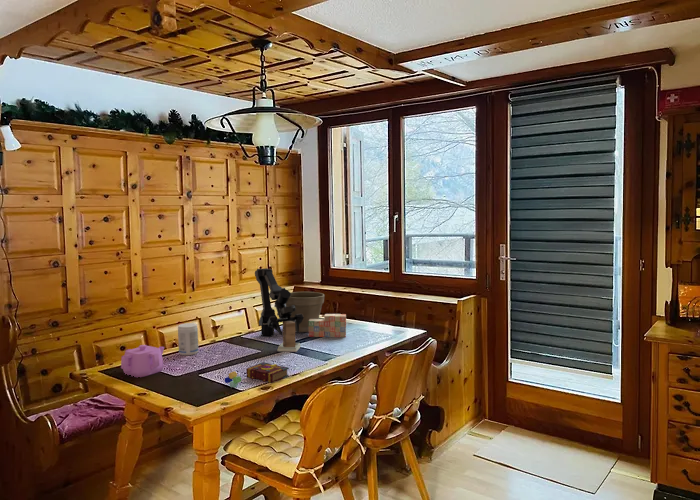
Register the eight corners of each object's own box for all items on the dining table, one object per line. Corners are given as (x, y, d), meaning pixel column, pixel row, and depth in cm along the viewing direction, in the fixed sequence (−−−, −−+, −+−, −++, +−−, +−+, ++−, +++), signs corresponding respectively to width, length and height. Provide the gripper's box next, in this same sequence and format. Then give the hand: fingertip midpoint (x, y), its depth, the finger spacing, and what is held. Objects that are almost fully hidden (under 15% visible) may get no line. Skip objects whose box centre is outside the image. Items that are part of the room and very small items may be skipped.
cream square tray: (277, 351, 279) (277, 347, 278) (282, 346, 289) (282, 342, 288) (296, 351, 278) (296, 347, 277) (300, 346, 287) (300, 343, 287)
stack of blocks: (308, 336, 309) (308, 315, 308) (309, 334, 316) (309, 313, 315) (345, 337, 308) (345, 316, 307) (346, 334, 314) (346, 313, 313)
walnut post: (282, 346, 284) (282, 321, 283) (291, 344, 286) (291, 320, 285) (286, 348, 280) (286, 323, 278) (295, 347, 282) (295, 322, 281)
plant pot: (307, 323, 344) (307, 289, 342) (332, 329, 326) (332, 294, 324) (275, 329, 327) (274, 294, 326) (299, 336, 309) (299, 299, 307)
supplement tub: (197, 350, 281) (197, 322, 280) (199, 354, 272) (198, 326, 271) (178, 351, 278) (177, 323, 276) (179, 356, 269) (178, 327, 267)
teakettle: (120, 379, 234) (119, 351, 233) (126, 368, 251) (125, 341, 250) (161, 376, 238) (160, 349, 237) (165, 365, 255) (164, 339, 254)
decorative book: (271, 384, 228) (271, 372, 228) (243, 377, 237) (243, 366, 236) (289, 377, 238) (288, 366, 237) (261, 371, 246) (261, 360, 246)
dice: (224, 385, 226) (223, 370, 225) (228, 383, 228) (228, 368, 228) (237, 389, 221) (237, 373, 221) (242, 387, 224) (242, 372, 223)
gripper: (269, 301, 280) (276, 326, 271) (302, 298, 289) (310, 323, 280) (264, 314, 288) (271, 338, 279) (296, 310, 296) (304, 334, 288)
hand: (290, 333), depth 281 cm, fingers open, 9 cm apart
